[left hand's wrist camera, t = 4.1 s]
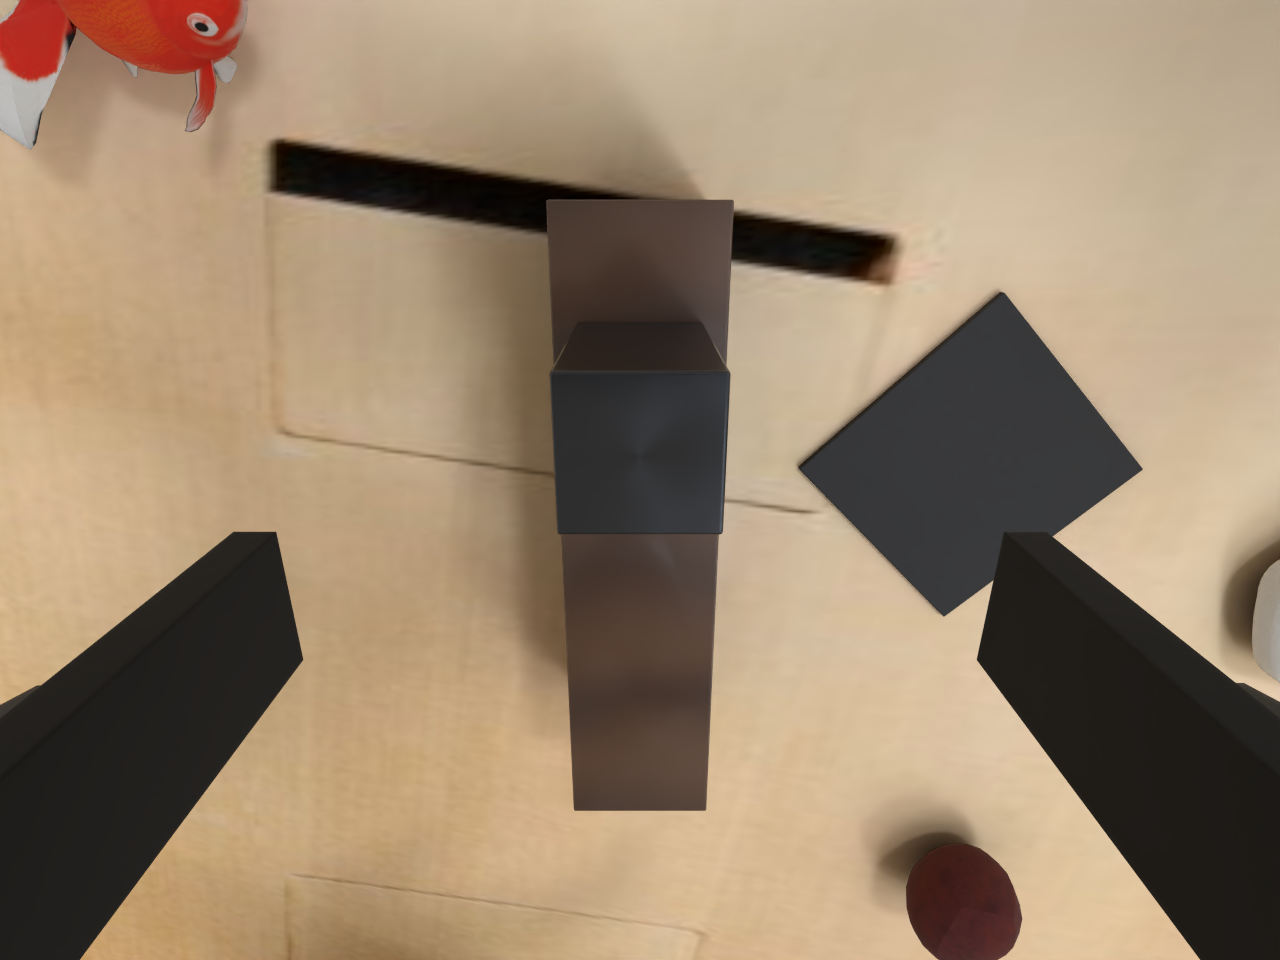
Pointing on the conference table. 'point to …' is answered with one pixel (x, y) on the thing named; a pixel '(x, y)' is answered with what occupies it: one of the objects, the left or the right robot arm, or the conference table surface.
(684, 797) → the walnut case
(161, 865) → the conference table surface
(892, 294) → the conference table surface
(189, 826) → the conference table surface
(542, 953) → the conference table surface
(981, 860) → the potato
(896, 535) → the rubber mat
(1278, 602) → the projector
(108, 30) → the fish
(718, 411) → the metal block
